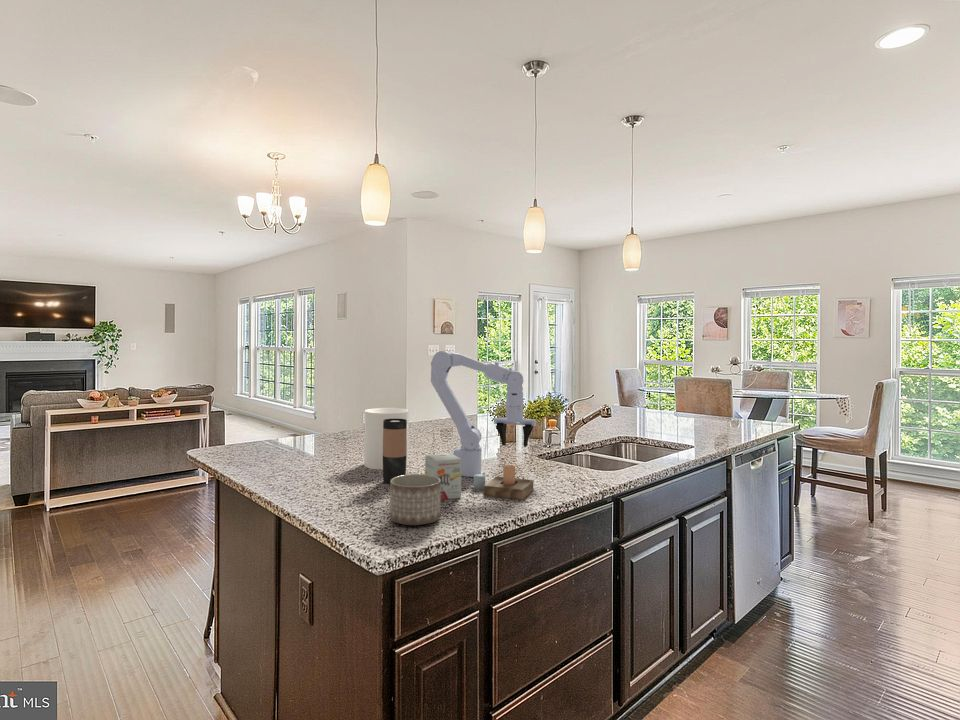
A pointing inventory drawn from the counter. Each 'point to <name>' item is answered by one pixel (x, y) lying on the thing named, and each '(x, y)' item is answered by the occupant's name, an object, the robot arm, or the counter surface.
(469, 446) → the robot arm
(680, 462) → the counter surface
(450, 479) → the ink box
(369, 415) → the canister
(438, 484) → the planter
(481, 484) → the short peg
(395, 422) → the travel mug
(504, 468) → the long peg
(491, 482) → the socket block
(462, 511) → the counter surface
